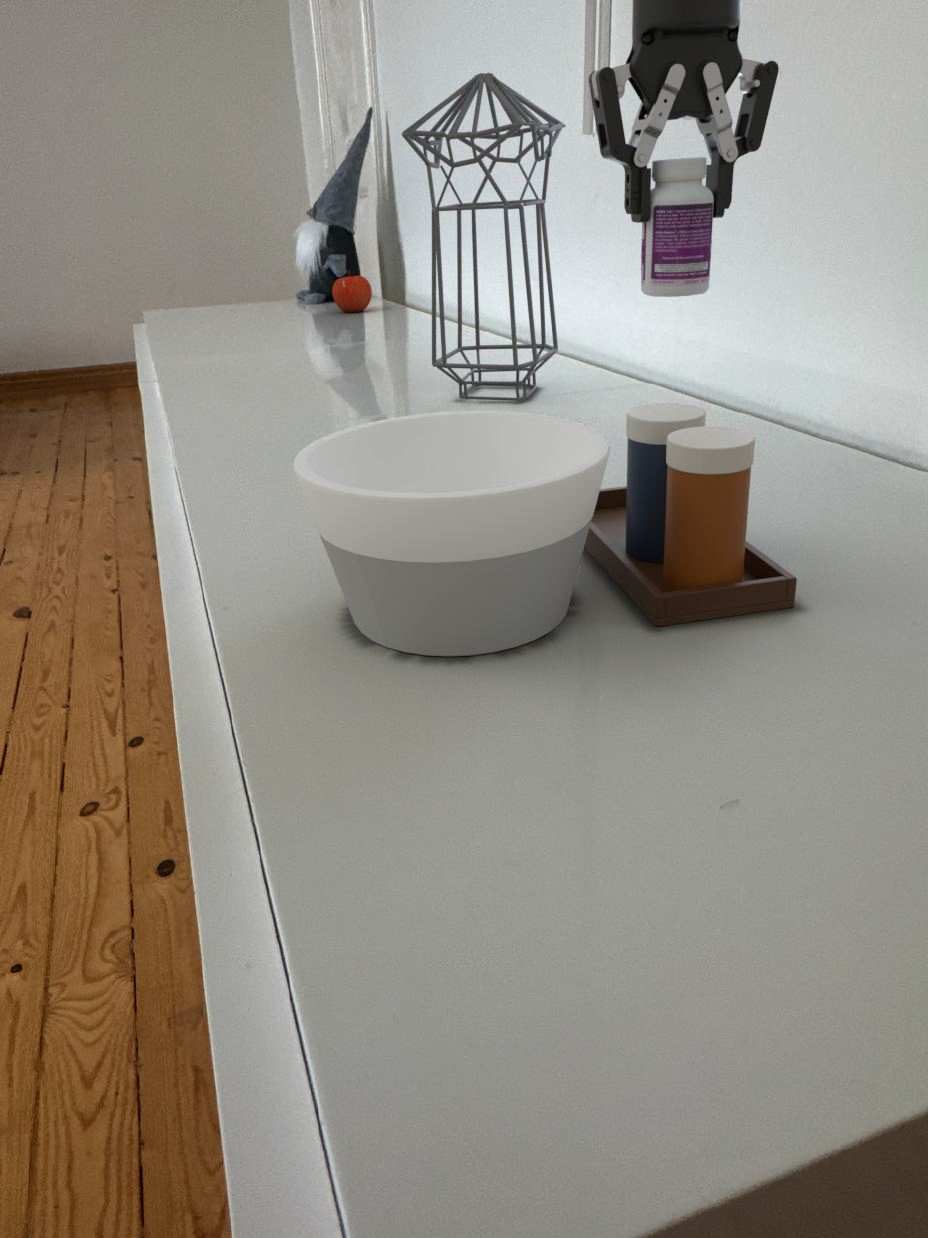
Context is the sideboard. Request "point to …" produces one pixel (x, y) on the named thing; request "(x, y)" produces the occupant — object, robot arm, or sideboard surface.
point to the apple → (352, 293)
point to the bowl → (455, 524)
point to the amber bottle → (706, 506)
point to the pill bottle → (677, 230)
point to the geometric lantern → (514, 111)
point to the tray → (644, 586)
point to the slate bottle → (651, 473)
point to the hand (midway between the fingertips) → (677, 218)
